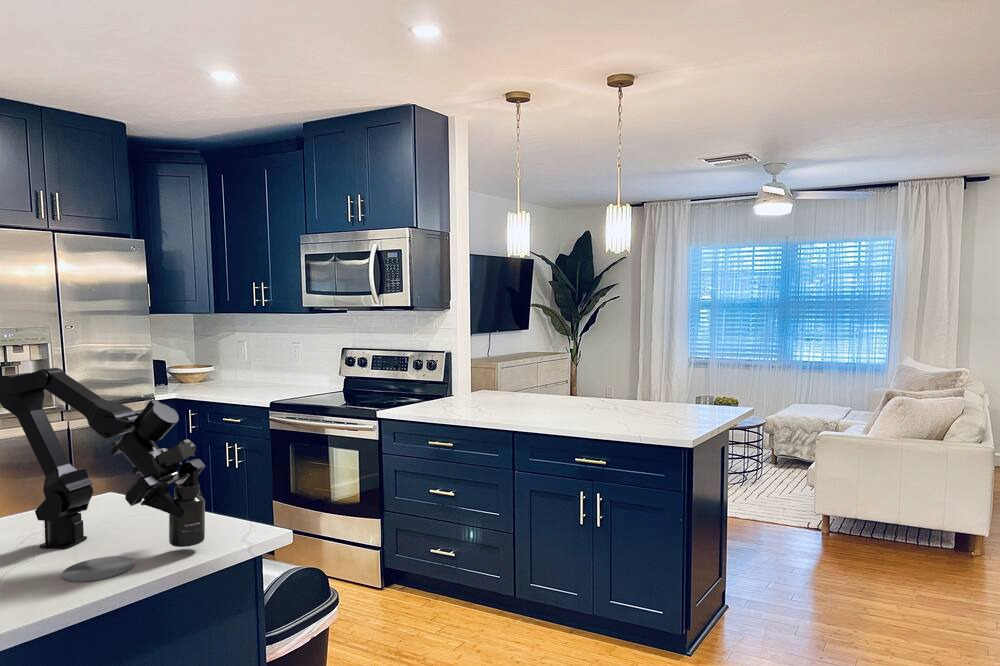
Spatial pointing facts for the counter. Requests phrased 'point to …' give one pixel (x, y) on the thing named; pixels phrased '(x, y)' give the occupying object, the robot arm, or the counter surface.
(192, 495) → the supplement bottle
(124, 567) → the slate coaster
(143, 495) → the robot arm
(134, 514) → the counter surface
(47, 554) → the counter surface
